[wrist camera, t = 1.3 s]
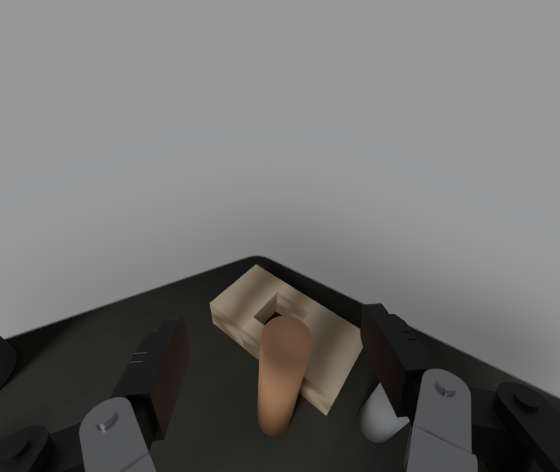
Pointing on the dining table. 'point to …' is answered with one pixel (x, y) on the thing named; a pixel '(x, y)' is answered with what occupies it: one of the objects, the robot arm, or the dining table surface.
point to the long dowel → (281, 371)
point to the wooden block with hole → (290, 302)
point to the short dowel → (379, 417)
